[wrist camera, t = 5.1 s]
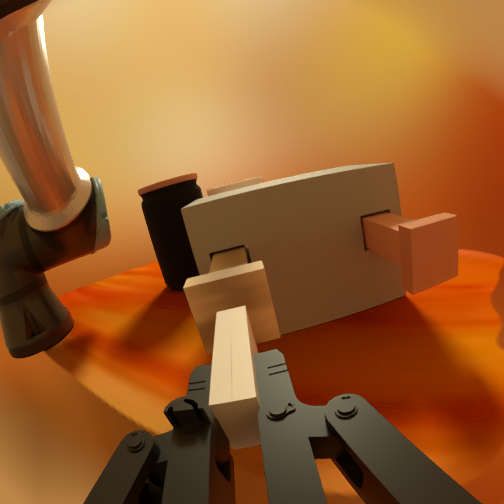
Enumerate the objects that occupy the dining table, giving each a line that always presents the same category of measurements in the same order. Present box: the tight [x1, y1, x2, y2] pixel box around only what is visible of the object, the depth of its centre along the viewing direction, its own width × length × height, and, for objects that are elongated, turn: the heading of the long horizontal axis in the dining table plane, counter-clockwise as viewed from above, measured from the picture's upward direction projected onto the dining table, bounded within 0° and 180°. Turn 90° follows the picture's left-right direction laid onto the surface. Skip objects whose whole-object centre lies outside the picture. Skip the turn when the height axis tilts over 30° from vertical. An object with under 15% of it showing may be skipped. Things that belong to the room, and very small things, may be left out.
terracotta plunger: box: [360, 211, 458, 295], centre depth 22 cm, size 5×12×5 cm, turn 5°
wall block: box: [181, 163, 406, 335], centre depth 30 cm, size 20×12×14 cm, turn 95°
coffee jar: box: [138, 173, 203, 291], centre depth 47 cm, size 11×11×18 cm
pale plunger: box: [183, 245, 281, 354], centre depth 22 cm, size 5×12×5 cm, turn 5°
